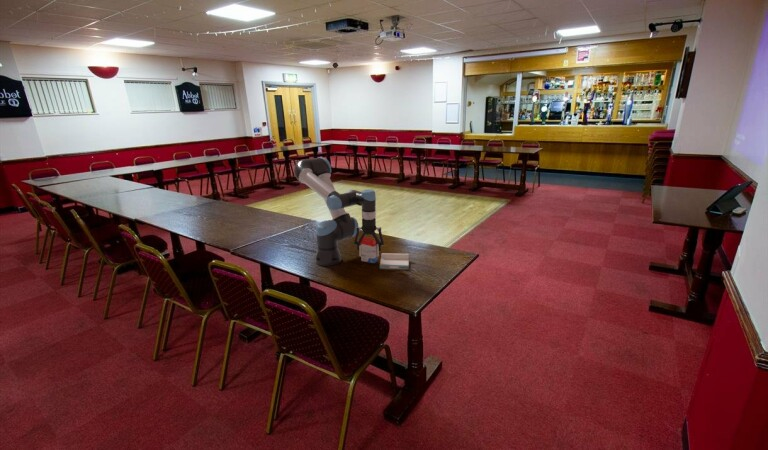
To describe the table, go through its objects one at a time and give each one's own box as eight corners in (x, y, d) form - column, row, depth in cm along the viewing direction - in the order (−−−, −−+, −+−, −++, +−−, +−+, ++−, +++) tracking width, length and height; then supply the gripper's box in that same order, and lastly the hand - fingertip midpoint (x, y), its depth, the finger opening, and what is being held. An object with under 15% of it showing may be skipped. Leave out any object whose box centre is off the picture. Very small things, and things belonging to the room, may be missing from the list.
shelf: (379, 269, 201) (379, 261, 199) (381, 260, 212) (381, 253, 211) (408, 269, 200) (408, 262, 198) (408, 260, 211) (408, 253, 210)
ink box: (377, 260, 207) (377, 236, 202) (374, 263, 203) (373, 239, 198) (364, 257, 211) (364, 234, 206) (360, 260, 206) (360, 236, 202)
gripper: (347, 219, 196) (348, 257, 203) (388, 220, 194) (388, 258, 201) (350, 215, 203) (351, 252, 210) (389, 216, 201) (389, 253, 208)
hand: (369, 255), depth 206 cm, fingers closed on ink box, 9 cm apart
